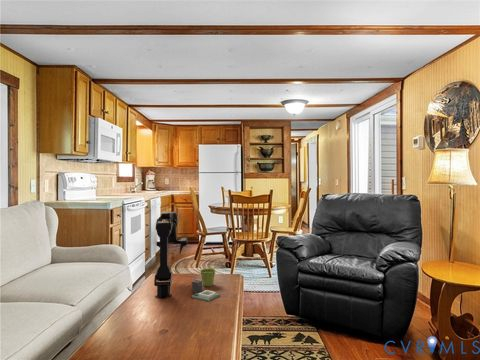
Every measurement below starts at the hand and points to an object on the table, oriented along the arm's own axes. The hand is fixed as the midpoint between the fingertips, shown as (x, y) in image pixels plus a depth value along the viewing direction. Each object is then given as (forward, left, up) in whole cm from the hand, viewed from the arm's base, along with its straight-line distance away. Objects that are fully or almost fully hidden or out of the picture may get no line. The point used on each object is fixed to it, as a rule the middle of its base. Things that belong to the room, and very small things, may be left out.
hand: (172, 254), depth 220 cm
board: (-17, -38, -15) cm, 44 cm away
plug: (-13, -29, -15) cm, 35 cm away
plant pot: (0, -27, -15) cm, 31 cm away
